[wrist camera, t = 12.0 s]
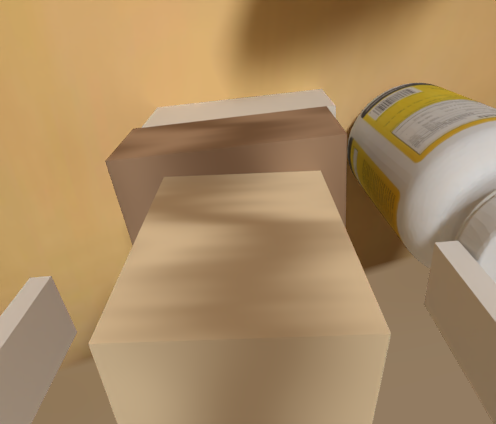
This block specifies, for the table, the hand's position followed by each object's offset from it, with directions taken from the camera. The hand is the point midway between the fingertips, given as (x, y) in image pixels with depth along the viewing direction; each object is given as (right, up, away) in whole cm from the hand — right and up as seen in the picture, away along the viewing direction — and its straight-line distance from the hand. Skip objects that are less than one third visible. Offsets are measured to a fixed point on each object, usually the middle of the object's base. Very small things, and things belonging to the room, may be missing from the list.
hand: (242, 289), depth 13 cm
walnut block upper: (0, +3, +6) cm, 7 cm away
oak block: (0, +2, +3) cm, 3 cm away
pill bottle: (+9, +7, +8) cm, 14 cm away
